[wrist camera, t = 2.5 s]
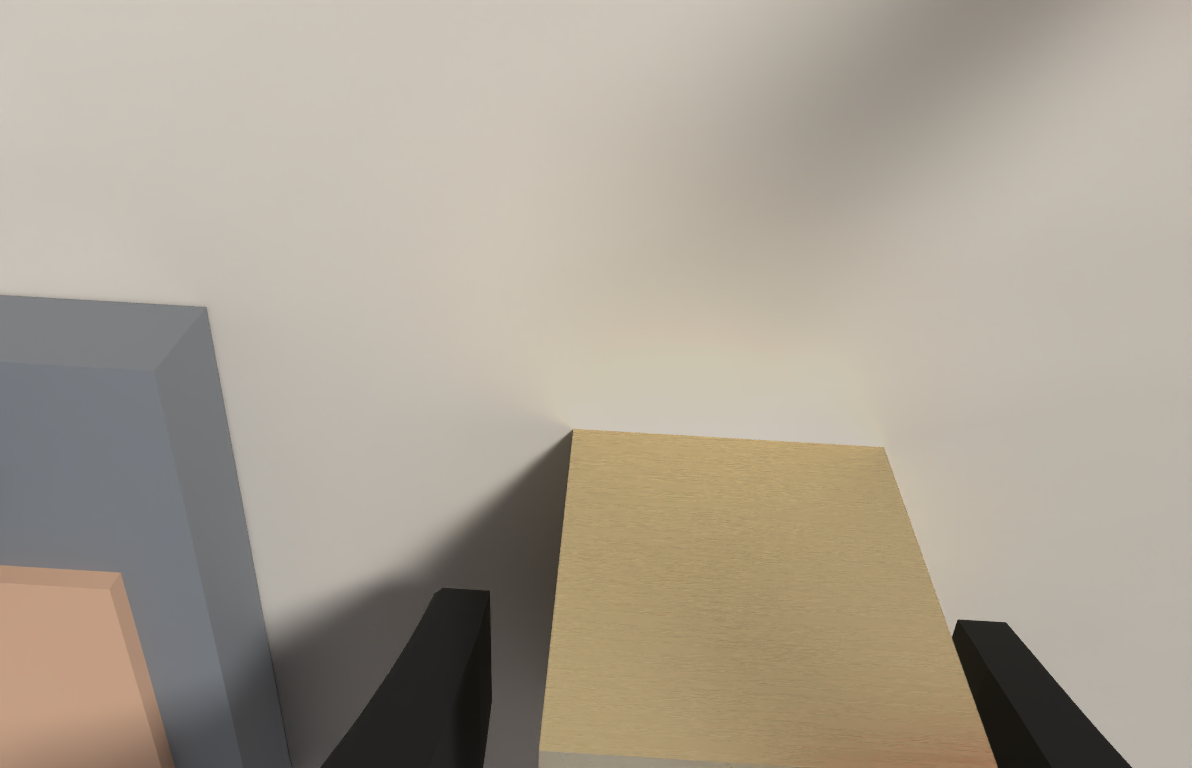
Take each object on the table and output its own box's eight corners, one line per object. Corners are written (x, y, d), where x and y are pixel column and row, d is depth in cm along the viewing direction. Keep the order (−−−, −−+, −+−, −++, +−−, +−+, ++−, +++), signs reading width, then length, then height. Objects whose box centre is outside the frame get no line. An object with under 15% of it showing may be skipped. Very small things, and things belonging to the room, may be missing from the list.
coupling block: (819, 707, 15) (887, 1062, 11) (563, 690, 15) (533, 1039, 11) (883, 444, 13) (1002, 779, 9) (573, 426, 13) (539, 751, 9)
